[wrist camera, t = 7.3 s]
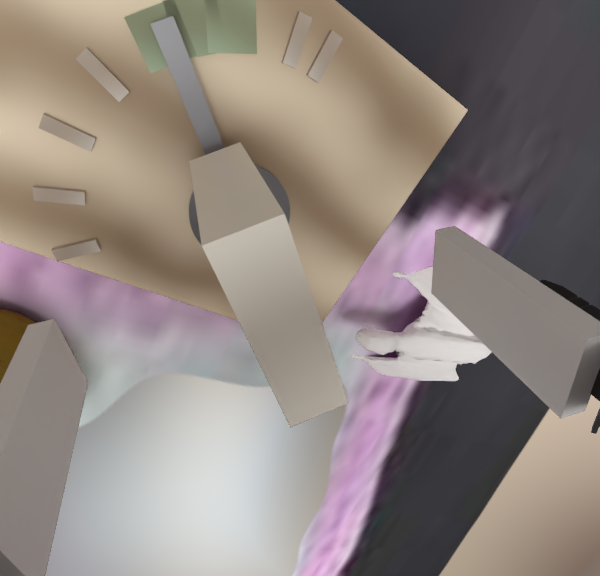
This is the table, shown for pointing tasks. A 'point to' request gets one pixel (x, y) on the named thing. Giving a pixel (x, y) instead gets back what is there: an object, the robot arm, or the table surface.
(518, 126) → the table surface
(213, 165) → the white upright block
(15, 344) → the mug
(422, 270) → the winged dragon toy
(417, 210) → the table surface
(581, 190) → the table surface
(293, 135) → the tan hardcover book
